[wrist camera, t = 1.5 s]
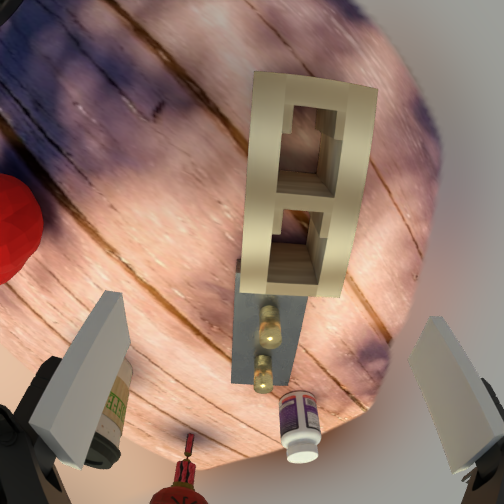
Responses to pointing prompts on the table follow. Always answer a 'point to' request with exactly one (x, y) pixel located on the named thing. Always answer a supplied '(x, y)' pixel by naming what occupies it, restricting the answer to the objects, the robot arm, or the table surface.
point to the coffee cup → (111, 423)
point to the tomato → (17, 226)
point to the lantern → (181, 482)
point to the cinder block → (304, 184)
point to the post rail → (252, 333)
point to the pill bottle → (299, 426)
